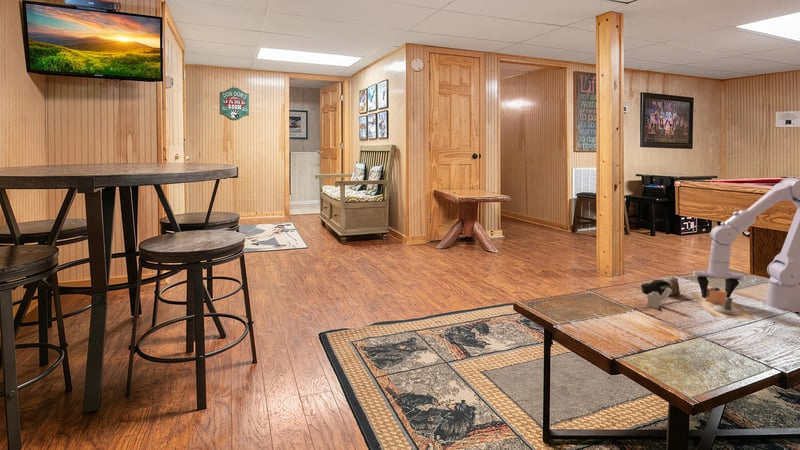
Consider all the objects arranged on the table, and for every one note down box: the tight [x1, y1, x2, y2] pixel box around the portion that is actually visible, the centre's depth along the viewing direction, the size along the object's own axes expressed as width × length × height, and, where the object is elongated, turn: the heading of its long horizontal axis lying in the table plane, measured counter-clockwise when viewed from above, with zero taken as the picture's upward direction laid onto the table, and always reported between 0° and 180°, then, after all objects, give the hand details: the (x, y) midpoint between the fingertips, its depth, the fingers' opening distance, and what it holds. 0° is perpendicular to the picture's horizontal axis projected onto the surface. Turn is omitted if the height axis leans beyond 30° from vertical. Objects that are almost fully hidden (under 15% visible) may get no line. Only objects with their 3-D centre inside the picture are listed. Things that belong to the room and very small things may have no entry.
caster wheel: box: [640, 276, 682, 297], centre depth 167 cm, size 7×12×10 cm
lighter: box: [647, 288, 672, 310], centre depth 152 cm, size 7×2×8 cm, turn 29°
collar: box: [705, 286, 727, 303], centre depth 157 cm, size 5×5×4 cm
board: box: [689, 286, 758, 321], centre depth 152 cm, size 12×24×6 cm, turn 163°
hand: (715, 298), depth 157 cm, fingers open, 6 cm apart
